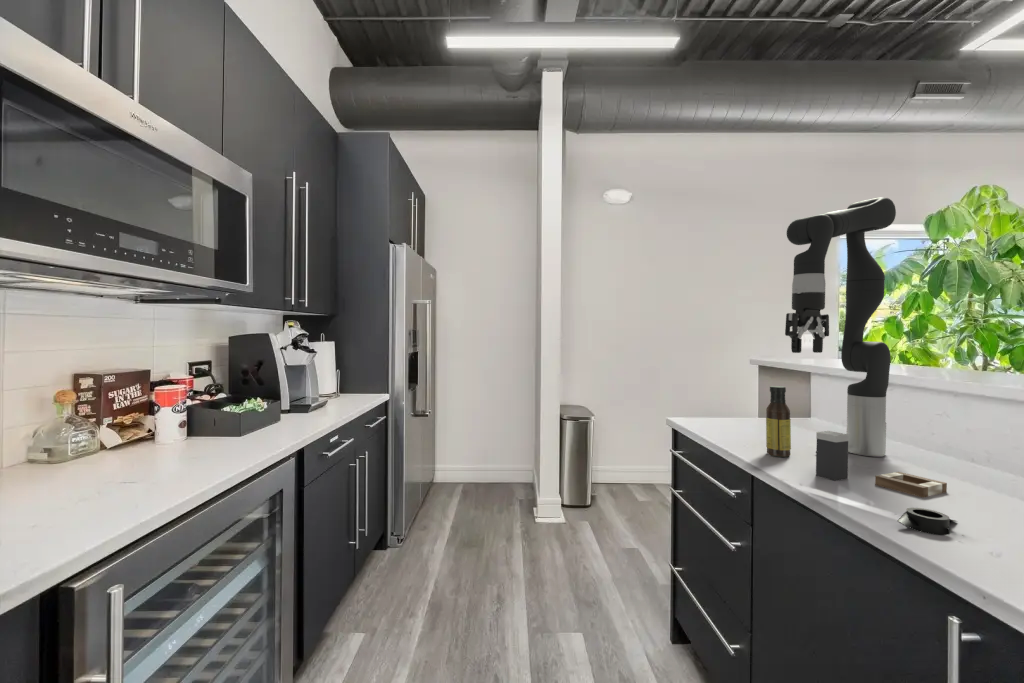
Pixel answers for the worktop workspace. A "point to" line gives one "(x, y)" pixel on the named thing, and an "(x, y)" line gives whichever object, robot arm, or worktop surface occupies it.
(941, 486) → the wooden rectangular frame
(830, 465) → the dark grey upright block
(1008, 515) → the worktop surface
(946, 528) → the duct tape
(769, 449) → the sauce bottle
